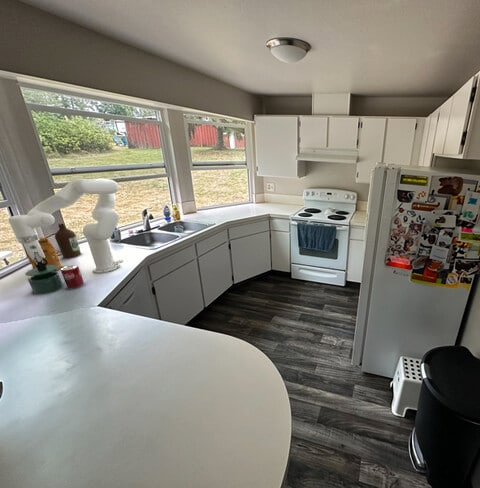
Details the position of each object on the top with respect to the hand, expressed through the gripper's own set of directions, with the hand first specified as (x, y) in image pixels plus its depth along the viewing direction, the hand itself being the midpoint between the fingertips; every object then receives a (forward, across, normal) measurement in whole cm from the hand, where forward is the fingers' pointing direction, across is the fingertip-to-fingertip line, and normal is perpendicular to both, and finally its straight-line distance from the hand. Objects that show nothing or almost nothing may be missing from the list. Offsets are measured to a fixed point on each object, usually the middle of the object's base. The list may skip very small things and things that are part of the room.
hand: (42, 269), depth 139 cm
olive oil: (+13, +51, -19) cm, 56 cm away
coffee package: (+13, +32, -4) cm, 34 cm away
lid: (+1, 0, 0) cm, 1 cm away
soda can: (+12, -8, -9) cm, 18 cm away
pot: (+12, 0, +1) cm, 12 cm away
